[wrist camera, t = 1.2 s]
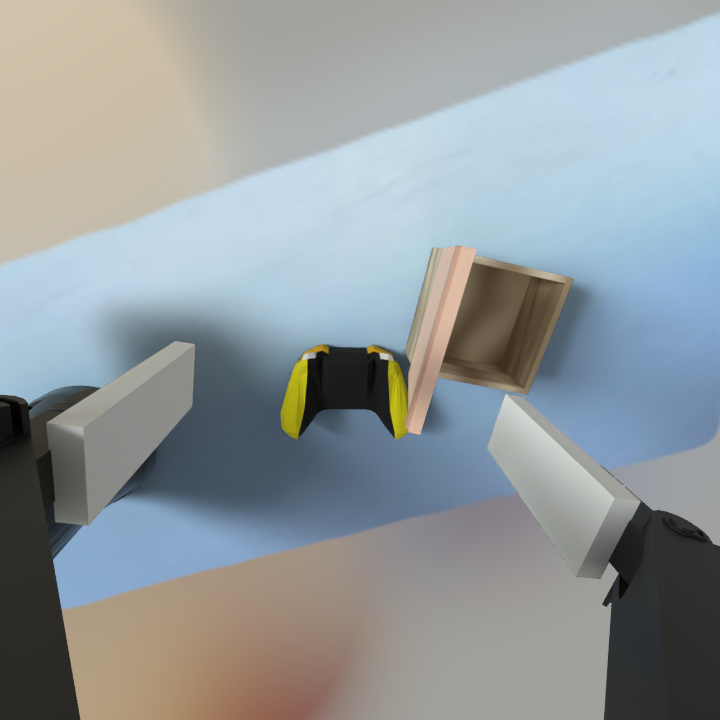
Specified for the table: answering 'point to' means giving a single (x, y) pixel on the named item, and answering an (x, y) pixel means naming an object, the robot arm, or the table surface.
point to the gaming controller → (345, 387)
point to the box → (496, 323)
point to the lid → (436, 331)
